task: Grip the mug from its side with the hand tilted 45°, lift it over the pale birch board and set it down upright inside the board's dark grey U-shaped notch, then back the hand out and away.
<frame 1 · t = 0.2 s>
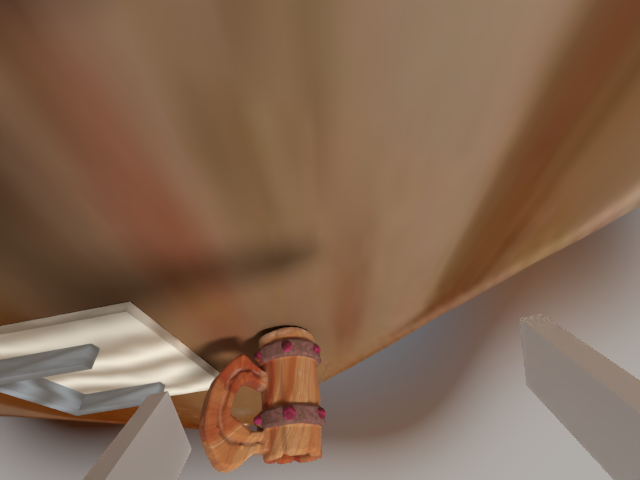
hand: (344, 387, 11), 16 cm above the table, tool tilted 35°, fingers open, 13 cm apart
notched board: (116, 361, 44), on the table
mug: (271, 329, 42), on the table
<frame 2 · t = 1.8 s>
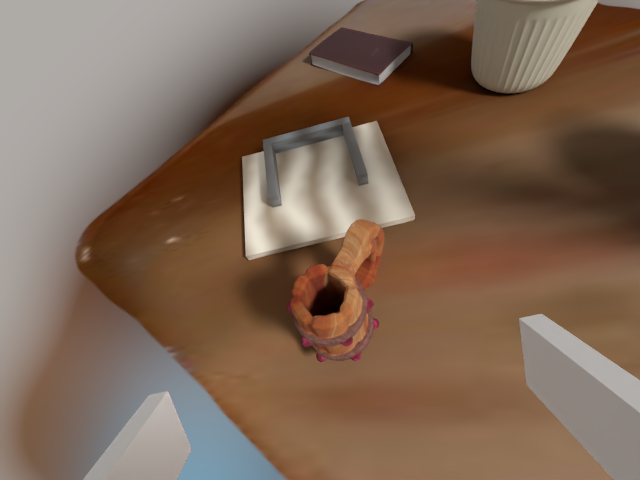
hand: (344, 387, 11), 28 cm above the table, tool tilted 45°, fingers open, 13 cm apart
canister: (507, 77, 58), on the table
notched board: (318, 186, 53), on the table
book: (360, 62, 71), on the table
mug: (353, 315, 41), on the table
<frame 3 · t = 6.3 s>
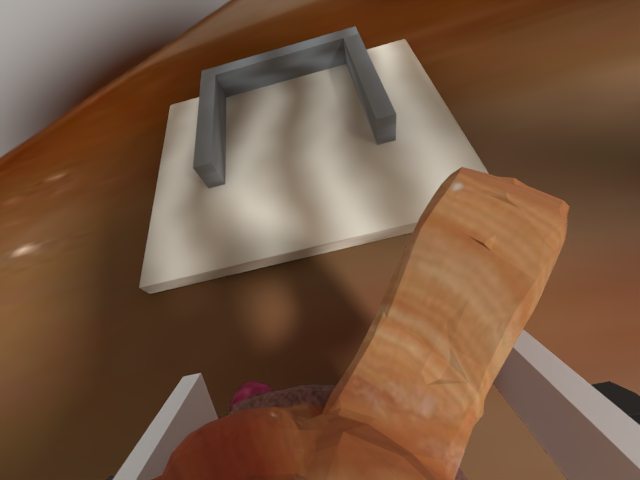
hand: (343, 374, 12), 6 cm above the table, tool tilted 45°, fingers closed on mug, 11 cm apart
notched board: (299, 151, 28), on the table
mug: (371, 451, 16), on the table, touching gripper
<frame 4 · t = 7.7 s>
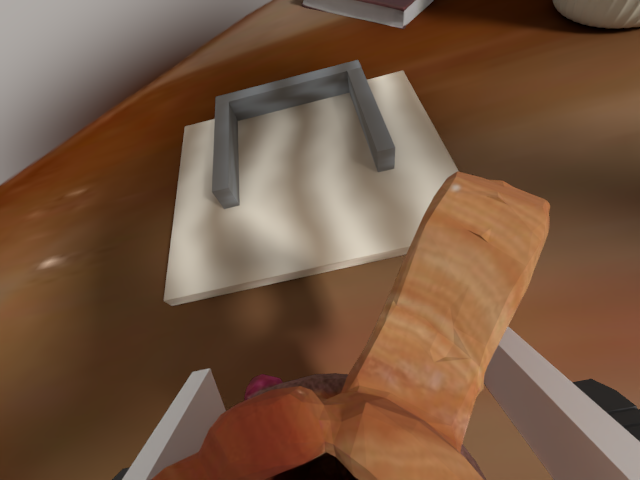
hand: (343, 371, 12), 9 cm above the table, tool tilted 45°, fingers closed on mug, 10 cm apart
canister: (608, 8, 37), on the table
notched board: (306, 174, 31), on the table
book: (372, 2, 49), on the table
mug: (368, 448, 16), point 3 cm above the table, touching gripper
when the fingers open (9 cm above the table, at t = 13.8 s): mug drops 1 cm, resting on notched board.
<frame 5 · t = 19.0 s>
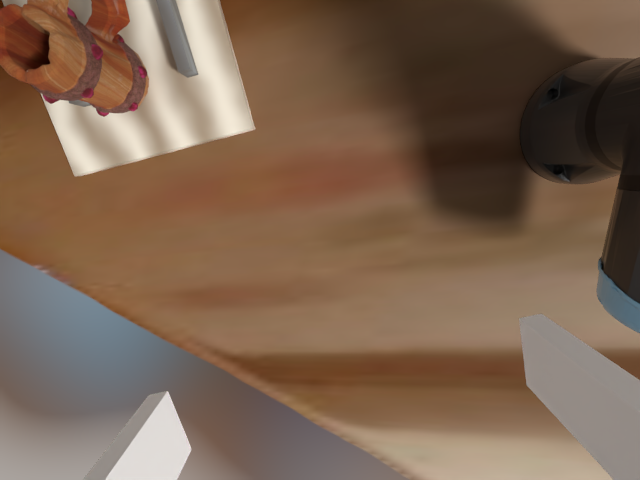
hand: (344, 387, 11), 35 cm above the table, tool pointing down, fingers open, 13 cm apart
notched board: (137, 69, 41), on the table
mug: (133, 64, 40), point 1 cm above the table, touching notched board
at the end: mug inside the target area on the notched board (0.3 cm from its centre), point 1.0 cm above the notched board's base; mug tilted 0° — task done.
